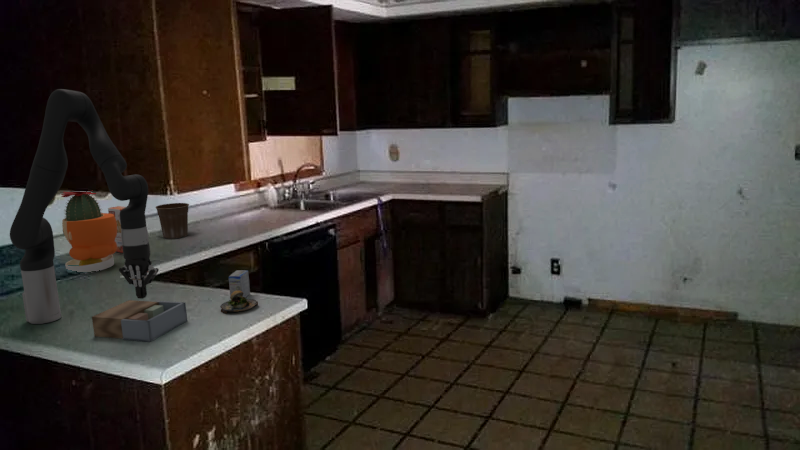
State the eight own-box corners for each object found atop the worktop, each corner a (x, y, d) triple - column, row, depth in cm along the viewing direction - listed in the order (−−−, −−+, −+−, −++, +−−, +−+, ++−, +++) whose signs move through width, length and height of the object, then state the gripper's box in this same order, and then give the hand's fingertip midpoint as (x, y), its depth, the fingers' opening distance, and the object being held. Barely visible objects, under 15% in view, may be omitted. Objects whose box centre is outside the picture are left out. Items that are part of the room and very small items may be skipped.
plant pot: (192, 237, 330) (189, 206, 327) (158, 241, 325) (154, 209, 322) (192, 232, 345) (188, 201, 342) (159, 235, 340) (156, 204, 337)
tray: (123, 340, 188) (120, 320, 187) (162, 319, 205) (160, 300, 204) (149, 342, 185) (147, 321, 184) (187, 320, 202) (185, 302, 201)
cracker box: (112, 251, 305) (107, 207, 301) (124, 249, 310) (119, 205, 306) (130, 254, 298) (124, 209, 294) (142, 252, 302) (136, 207, 298)
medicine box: (238, 294, 229) (235, 270, 227) (250, 293, 228) (248, 269, 227) (230, 301, 221) (227, 276, 219) (243, 300, 221) (240, 276, 219)
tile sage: (144, 310, 196) (152, 310, 196) (154, 305, 201) (163, 305, 200) (146, 326, 197) (154, 326, 197) (156, 320, 202) (165, 321, 201)
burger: (222, 317, 205) (220, 294, 204) (218, 307, 216) (216, 285, 214) (261, 311, 209) (259, 289, 208) (255, 301, 220) (253, 280, 219)
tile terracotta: (127, 318, 190) (136, 318, 189) (138, 312, 194) (147, 313, 193) (129, 334, 190) (138, 335, 190) (140, 328, 195) (149, 329, 194)
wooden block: (94, 336, 192) (91, 316, 191) (131, 318, 207) (128, 300, 206) (125, 338, 189) (123, 318, 188) (160, 320, 204) (158, 301, 203)
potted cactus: (55, 274, 268) (42, 189, 261) (89, 260, 289) (78, 182, 283) (103, 274, 264) (92, 188, 258) (134, 260, 286) (124, 181, 279)
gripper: (108, 244, 194) (115, 300, 197) (145, 245, 190) (152, 302, 193) (125, 238, 201) (132, 293, 204) (162, 240, 197) (168, 295, 200)
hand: (141, 297), depth 199 cm, fingers closed
